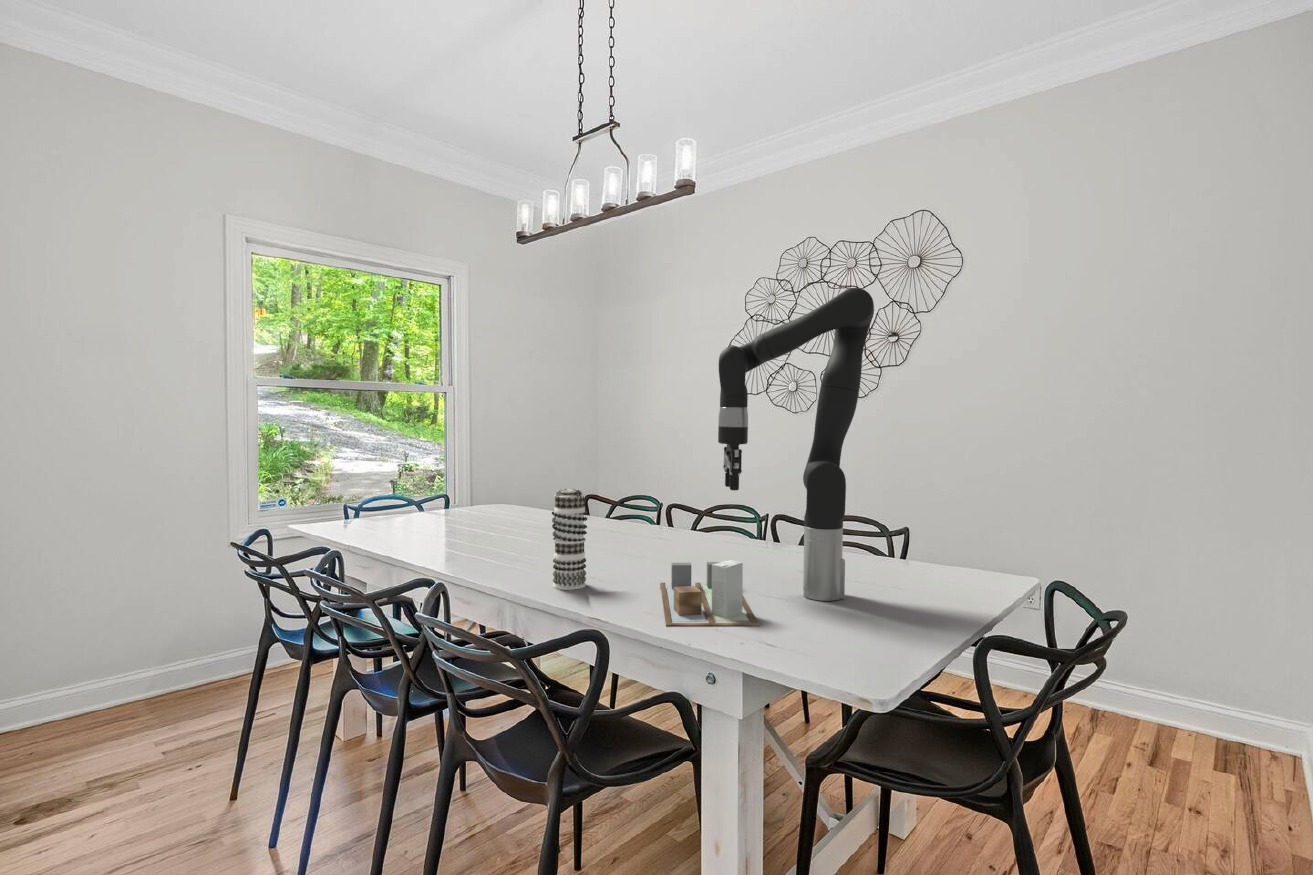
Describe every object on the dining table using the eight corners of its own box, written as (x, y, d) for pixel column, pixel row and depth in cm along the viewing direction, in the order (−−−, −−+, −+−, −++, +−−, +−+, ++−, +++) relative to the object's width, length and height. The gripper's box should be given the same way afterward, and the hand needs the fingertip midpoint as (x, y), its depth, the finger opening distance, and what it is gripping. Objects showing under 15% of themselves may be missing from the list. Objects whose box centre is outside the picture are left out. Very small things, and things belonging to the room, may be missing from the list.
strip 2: (729, 588, 173) (729, 561, 173) (748, 624, 143) (748, 591, 143) (702, 588, 173) (702, 561, 173) (716, 624, 143) (716, 591, 143)
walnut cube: (695, 608, 152) (695, 585, 152) (701, 614, 147) (701, 591, 147) (673, 609, 151) (673, 586, 151) (678, 615, 146) (679, 592, 146)
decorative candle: (585, 590, 171) (585, 491, 171) (548, 589, 172) (548, 491, 171) (589, 581, 181) (589, 487, 180) (554, 581, 181) (554, 487, 180)
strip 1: (694, 589, 172) (694, 562, 172) (706, 626, 142) (706, 592, 142) (667, 589, 172) (667, 562, 172) (673, 626, 142) (673, 592, 142)
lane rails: (735, 588, 174) (735, 582, 174) (759, 631, 139) (759, 624, 139) (660, 588, 174) (660, 582, 174) (666, 632, 139) (666, 624, 139)
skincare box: (727, 612, 152) (727, 559, 151) (743, 616, 149) (743, 561, 148) (710, 619, 147) (710, 563, 147) (727, 623, 144) (726, 566, 144)
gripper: (752, 426, 167) (751, 491, 167) (743, 425, 181) (741, 485, 182) (722, 425, 167) (720, 491, 167) (715, 424, 181) (713, 485, 181)
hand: (731, 488), depth 174 cm, fingers open, 8 cm apart
